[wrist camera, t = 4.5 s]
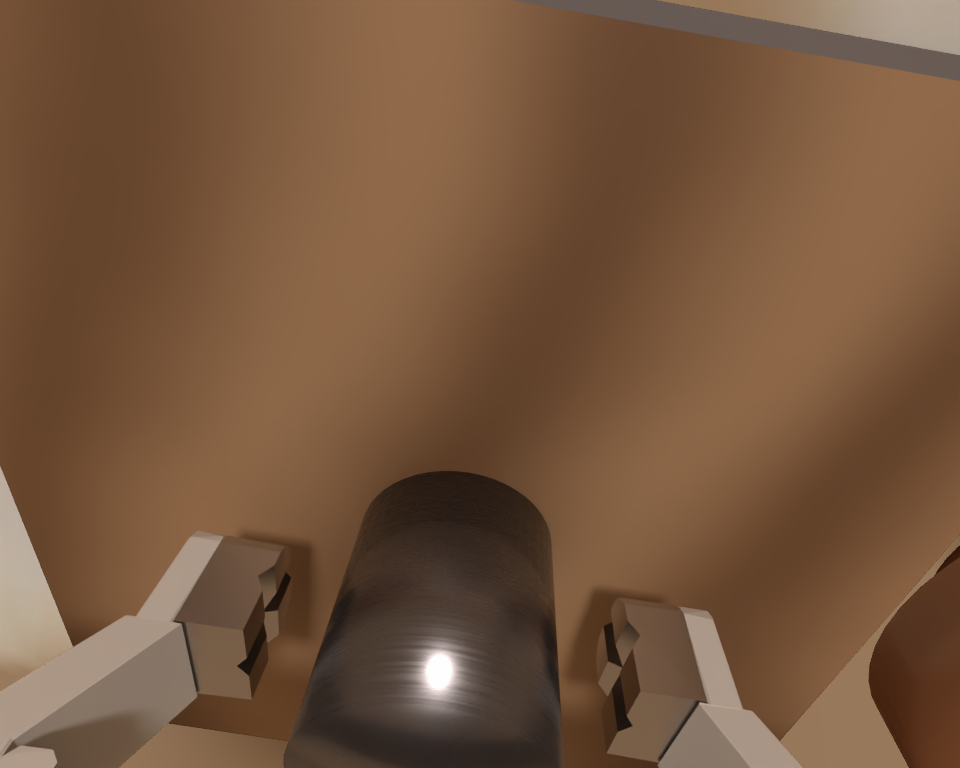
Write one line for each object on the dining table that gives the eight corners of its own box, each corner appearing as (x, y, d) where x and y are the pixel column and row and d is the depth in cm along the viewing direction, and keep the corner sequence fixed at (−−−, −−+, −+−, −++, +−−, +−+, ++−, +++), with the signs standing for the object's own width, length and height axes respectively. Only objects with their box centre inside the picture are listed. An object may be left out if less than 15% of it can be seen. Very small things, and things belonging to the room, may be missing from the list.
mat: (1074, 79, 9) (1101, 80, 9) (696, 676, 19) (700, 691, 18) (0, -116, 9) (-26, -124, 9) (166, 594, 18) (157, 607, 18)
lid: (1050, 109, 9) (2236, 264, 3) (690, 680, 18) (781, 1025, 12) (16, -77, 9) (-1308, -385, 2) (170, 600, 18) (-27, 913, 11)
